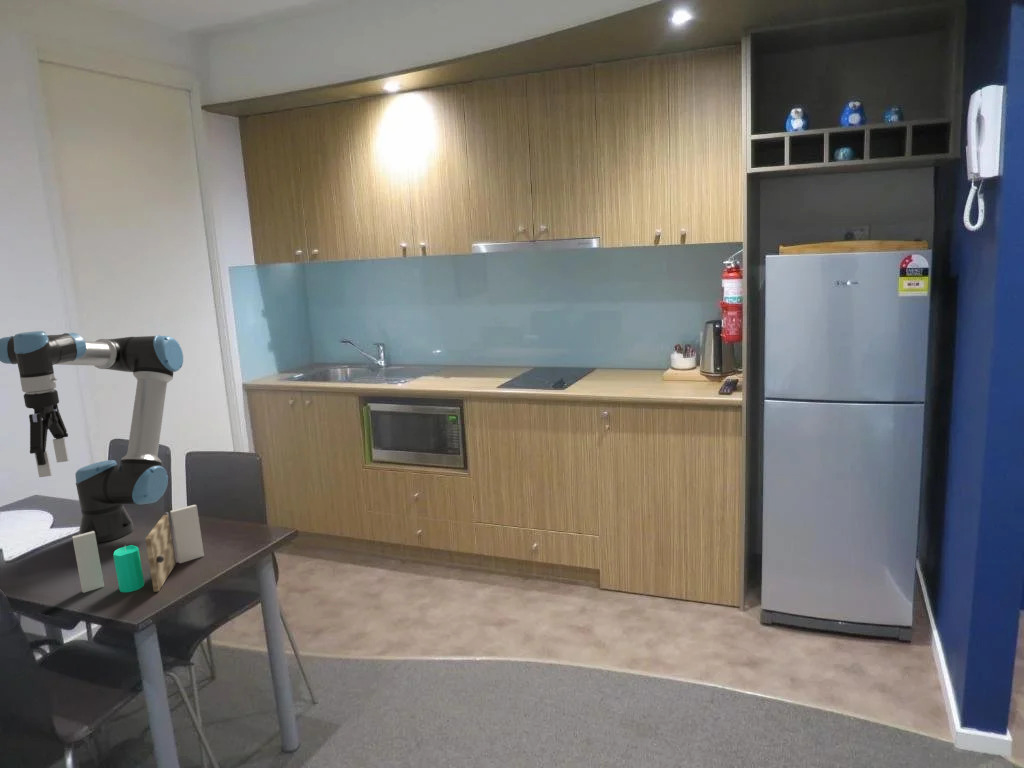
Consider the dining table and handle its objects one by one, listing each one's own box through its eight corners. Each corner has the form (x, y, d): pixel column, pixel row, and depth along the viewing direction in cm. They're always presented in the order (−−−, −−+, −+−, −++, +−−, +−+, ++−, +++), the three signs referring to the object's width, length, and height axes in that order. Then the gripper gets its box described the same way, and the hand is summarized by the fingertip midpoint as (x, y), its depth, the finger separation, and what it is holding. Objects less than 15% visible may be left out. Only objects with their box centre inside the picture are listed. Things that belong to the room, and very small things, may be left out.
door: (171, 564, 205) (163, 515, 202) (181, 563, 206) (174, 514, 203) (153, 591, 189) (145, 538, 186) (165, 590, 190) (156, 537, 187)
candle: (126, 582, 196) (119, 540, 194) (148, 581, 196) (141, 539, 194) (114, 592, 190) (107, 550, 188) (137, 591, 190) (130, 549, 188)
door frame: (82, 590, 193) (72, 536, 190) (202, 554, 212) (195, 504, 209) (83, 592, 191) (73, 538, 188) (204, 555, 211) (196, 505, 208)
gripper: (39, 398, 179) (54, 480, 183) (71, 381, 203) (84, 454, 207) (4, 402, 177) (20, 484, 181) (40, 384, 201) (54, 457, 205)
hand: (54, 468), depth 194 cm, fingers open, 13 cm apart
